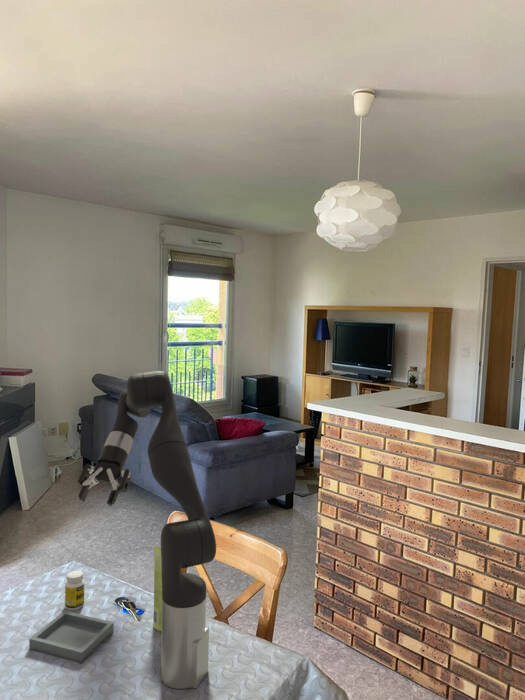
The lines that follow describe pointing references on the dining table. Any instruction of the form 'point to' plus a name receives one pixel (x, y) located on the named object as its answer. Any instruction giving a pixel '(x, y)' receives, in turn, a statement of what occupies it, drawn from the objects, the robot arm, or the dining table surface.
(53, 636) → the tray
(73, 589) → the supplement bottle
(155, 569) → the tube
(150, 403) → the robot arm
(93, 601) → the dining table surface
